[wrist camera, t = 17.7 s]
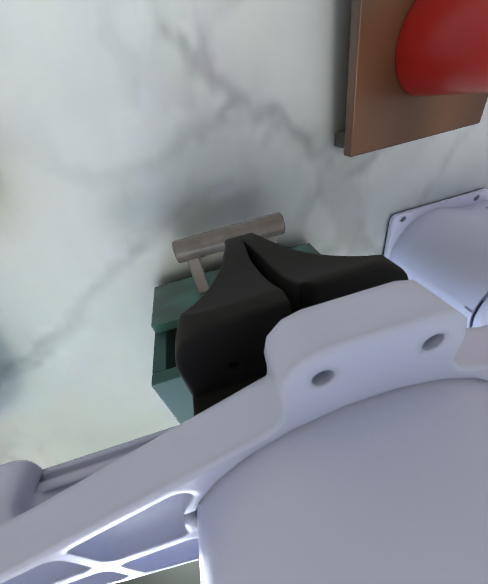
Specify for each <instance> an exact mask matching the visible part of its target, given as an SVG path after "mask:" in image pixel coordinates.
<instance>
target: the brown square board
mask: <svg viewBox="0 0 488 584" xmlns="http://www.w3.org/2000/svg"><path fill="white" fill-rule="evenodd" d="M415 1H416V0H352V8H351V28H350V47H349V67H348V87H347V107H346V127H345V131H341V132H337V133H335V146H336V147H341V148H344V155H345V156H349V157H353V156H357V155H360V154H364V153H368V152H372V151H375V150H379V149H383V148H387V147H391V146H394V145H398V144H402V143H406V142H409V141H413V140H417V139H421V138H425V137H428V136H432V135H436V134H440V133H443V132H447V131H451V130H455V129H458V128H462V127H466V126H470V125H474V124H477V123H479V122H480V119H481V116H482V113H483V110H484V107H485V104H486V101H487V97H488V93H473V94H455V95H436V96H414V95H411V94H409V93H408V92H406V91H405V90H404V89H403V87H402V86H401V84H400V82H399V80H398V77H397V73H396V65H395V57H396V48H397V42H398V38H399V35H400V31H401V29H402V26H403V23H404V21H405V19H406V16H407V14H408V12H409V11H410V9H411V7H412V5H413V4H414V2H415Z"/></svg>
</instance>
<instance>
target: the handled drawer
mask: <svg viewBox="0 0 488 584" xmlns="http://www.w3.org/2000/svg"><path fill="white" fill-rule="evenodd" d="M248 233H254V234H256V235H259V236H261V237H263V238H265V239H267V240H270V241H272V242H274V243H277V244H278V240H277V235H281V234H284V233H285V223H284V219H283V216H282V214H281V213H280V212H277V213H273V214H270V215H266V216H262V217H259V218H255V219H251V220H248V221H244V222H241V223H237V224H233V225H230V226H226V227H222V228H219V229H215V230H212V231H208V232H204V233H201V234H197V235H193V236H190V237H186V238H182V239H179V240H175V241H173V242H172V247H173V251H174V254H175V256H176V259H177V261H178V262H179V263H182V262H185V261H187V263H188V265H189V268H190V271H191V273H192V276H193V277H190V278H186V279H183V280H179V281H176V282H172V283H169V284H165V285H162V286H158V287H155V291H154V302H153V313H152V324H151V326H152V328H153V330H154V331H155V333H156V334H157V333H161V332H164V331H167V330H171V329H174V328H177V327H178V322H179V318H180V315H181V314H182V313H184V312H185V311H186V310H187V309H189V308H190V307H191V306H192V305H194V304H195V303H196V302H197V301H198V300H199V299H200V298H201V297H202V296H203V295H204V294H205V293H206V292H207V290H208V289H209V288H210V286H211V285H212V283H213V282H214V280H215V278H216V276H217V274H218V272H219V270H220V269H217V270H214V271H211V272H207V273H205V272H204V269H203V266H202V263H201V260H200V257H203V256H207V255H210V254H214V253H217V252H221V251H224V250H225V243H224V242H225V241H226V240H227V239H230V238H234V237H237V236H241V235H245V234H248ZM291 249H295V250H298V251H303V252H307V253H313V254H320V253H319V252H318V251H317V250H316V249H315V248H314V247H312V246H311V245H310V244H309V243H308V244H304V245H301V246H297V247H294V248H291Z"/></svg>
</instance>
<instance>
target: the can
mask: <svg viewBox="0 0 488 584" xmlns="http://www.w3.org/2000/svg"><path fill="white" fill-rule="evenodd" d="M395 65H396V73H397V77H398V80H399V82H400V84H401V86H402V87H403V89H404V90H405V91H406V92H408V93H409V94H411V95H414V96H436V95H455V94H473V93H488V0H416V1H415V2H414V4H413V5H412V7H411V9H410V11H409V12H408V14H407V16H406V19H405V21H404V23H403V26H402V29H401V31H400V35H399V38H398V42H397V48H396V57H395Z"/></svg>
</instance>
